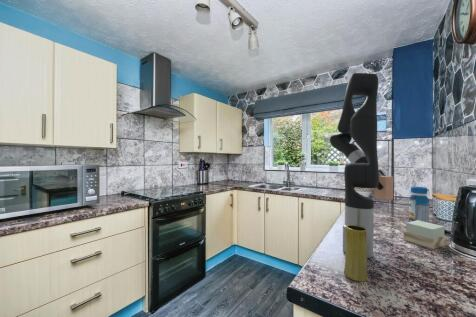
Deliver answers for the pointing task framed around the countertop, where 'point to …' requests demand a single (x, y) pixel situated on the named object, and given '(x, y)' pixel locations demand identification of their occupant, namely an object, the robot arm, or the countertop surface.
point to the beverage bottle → (419, 205)
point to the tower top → (425, 229)
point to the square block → (385, 188)
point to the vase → (356, 253)
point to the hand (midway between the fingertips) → (385, 188)
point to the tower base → (425, 240)
